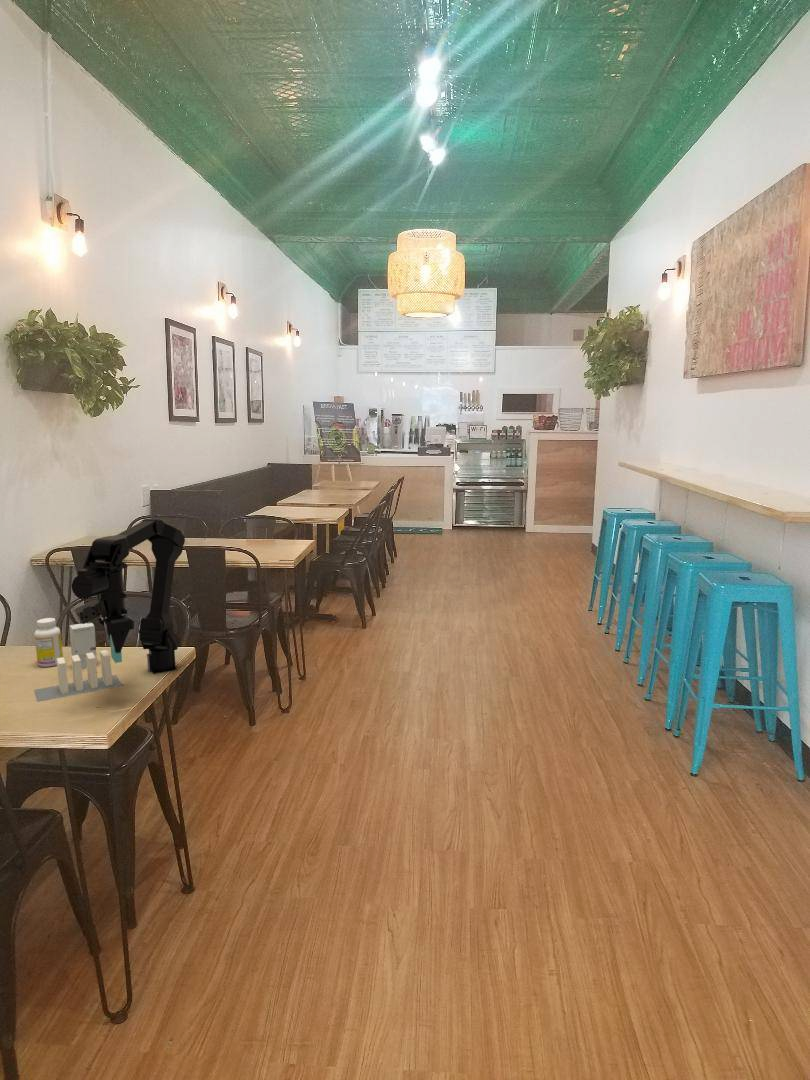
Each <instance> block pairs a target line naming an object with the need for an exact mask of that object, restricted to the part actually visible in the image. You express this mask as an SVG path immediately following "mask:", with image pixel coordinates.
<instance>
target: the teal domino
mask: <svg viewBox="0 0 810 1080" xmlns="http://www.w3.org/2000/svg"><path fill="white" fill-rule="evenodd" d="M109 644H110V658H111V659H112V661H113V663H115V664H117V663H122V662H123V659H122V658H123V656H122V651H121V652H120V653H116V652H115V649H114V645H113V642H112V638H111V634H110V641H109Z"/></svg>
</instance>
